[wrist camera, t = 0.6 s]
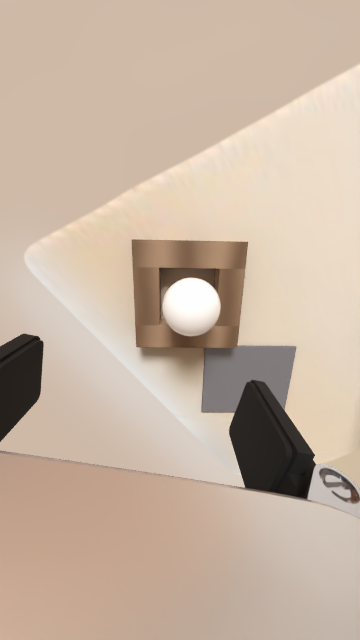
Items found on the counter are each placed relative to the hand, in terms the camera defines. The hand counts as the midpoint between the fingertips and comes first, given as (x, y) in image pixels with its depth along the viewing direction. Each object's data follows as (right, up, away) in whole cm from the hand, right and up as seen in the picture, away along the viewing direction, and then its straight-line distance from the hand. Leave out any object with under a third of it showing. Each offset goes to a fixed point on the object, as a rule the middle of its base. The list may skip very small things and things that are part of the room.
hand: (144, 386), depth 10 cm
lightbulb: (+3, +7, +22) cm, 23 cm away
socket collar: (+3, +7, +22) cm, 23 cm away
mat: (+12, -7, +26) cm, 30 cm away
